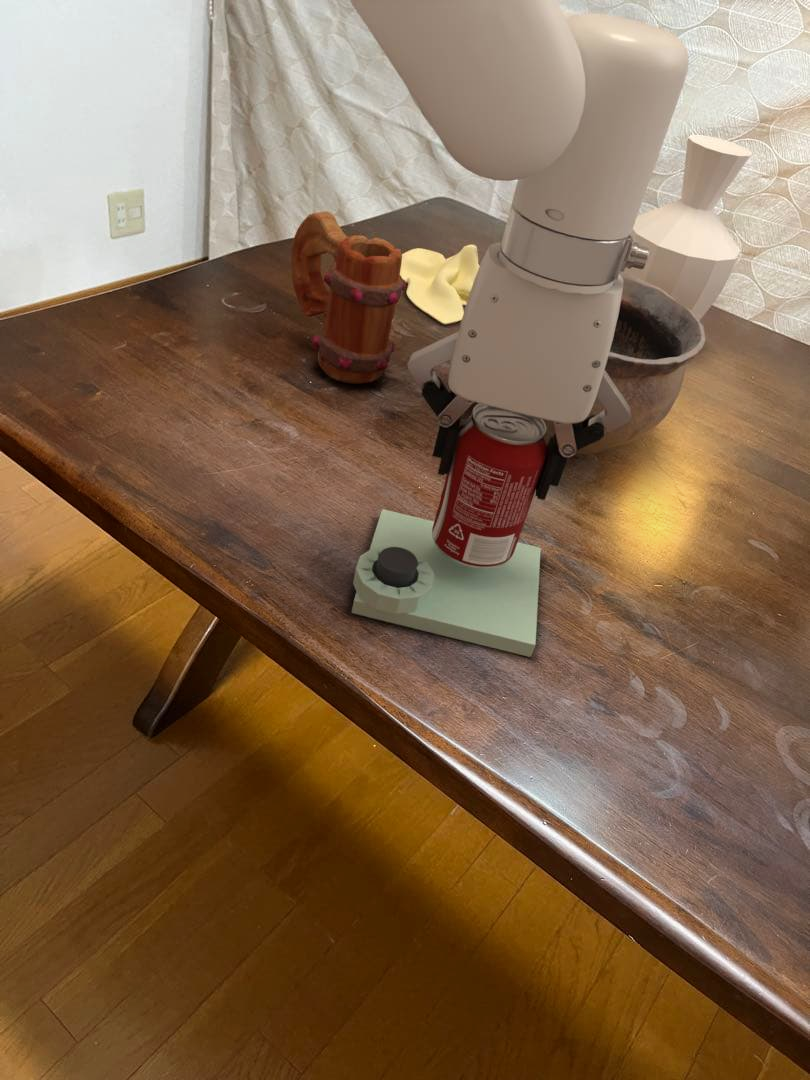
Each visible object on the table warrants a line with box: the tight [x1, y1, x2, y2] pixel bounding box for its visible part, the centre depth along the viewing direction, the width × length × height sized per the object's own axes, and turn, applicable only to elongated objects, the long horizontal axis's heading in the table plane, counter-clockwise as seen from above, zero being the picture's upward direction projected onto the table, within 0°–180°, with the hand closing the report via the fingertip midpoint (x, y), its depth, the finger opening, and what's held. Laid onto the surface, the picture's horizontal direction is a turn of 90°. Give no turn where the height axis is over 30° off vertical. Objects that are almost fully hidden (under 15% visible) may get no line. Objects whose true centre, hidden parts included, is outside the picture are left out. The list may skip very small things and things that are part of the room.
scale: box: [351, 508, 542, 658], centre depth 69 cm, size 14×12×3 cm
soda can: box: [432, 403, 548, 569], centre depth 66 cm, size 7×7×12 cm
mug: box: [290, 211, 407, 385], centre depth 91 cm, size 15×8×15 cm, turn 47°
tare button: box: [375, 547, 418, 588], centre depth 65 cm, size 3×3×2 cm
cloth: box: [400, 244, 481, 325], centre depth 115 cm, size 22×19×6 cm
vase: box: [620, 134, 753, 322], centre depth 108 cm, size 14×14×25 cm
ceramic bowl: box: [542, 272, 707, 455], centre depth 88 cm, size 22×22×15 cm
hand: (492, 475), depth 65 cm, fingers closed on soda can, 6 cm apart
